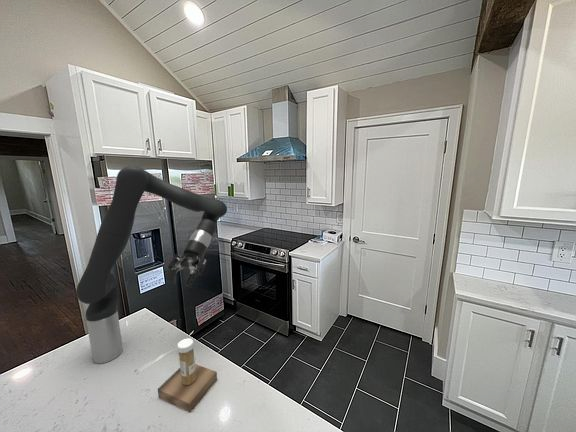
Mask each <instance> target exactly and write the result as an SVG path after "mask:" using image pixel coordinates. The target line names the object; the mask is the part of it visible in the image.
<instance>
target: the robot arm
mask: <svg viewBox="0 0 576 432" xmlns="http://www.w3.org/2000/svg"><path fill="white" fill-rule="evenodd" d="M144 193H148V194H153V195H155V196H158V197H160V198H163V199H164V200H166V201H169V202H170V203H173V204H175V205H177V206H179V207H181V208H184V209H186V210H189V211H193V212H197V213H199V212H203V214H202V217H201V219H200V222H199V223H198V225H197V227H196V228H195V230H194V231H193V233H192V235H191V236H190V238H189V240H188V241H187V243H186V245H185V247H184V249H183V253H182V255H179V254H178V253H175V255H174V256H173V257H172V260H171V261H170V263H169V264H168V265H167V269H169V270H170V271H169V273H168V276H166V282H168V283H172V282H173V281H174V278H175V277H176V276H177V273H178V272H179V271H181V270H184V269H188V270H189V274H188V276H187V277H186V280H185V282H184V286H186V287H190V286H191V285H192V284H193V282H194V280H195V277H198V276H199V277H201V276H202V275H203V272H204V270H205V267H206V266H207V263H208V261H207V259H205V258H204V256H205V254H206V252H207V250H208V248H209V246H210V244H211V241H212V239H213V237H214V235H215V232H216V230H217V226H218V225H217V223H218V221H219V219H221V218H222V217H224V216H225V215H226V213H227V212H228V207H227V205H226V203H225V202H223V201H222V200H220V199H217V198H212V197H208V196H203V195H200V194H198V193H197V192H196V193H195V192H194V191H190V190H188V189H185V188H182V187H179V186H178V185H175V184H172V183H169V182H167V181H165V180H163V179H160V177H157V176H156V175H154V174H152V173H150V172H149V171H147V170H145V169H144V168H143V167H141V166H137V165H127V166H124V167H122V168H121V169H120V170H119V171H118V173H117V175H116V179H115V186H114V191H113V196H112V199H111V203H110V204H109V207H108V208H107V210H106V212H105V214H104V216H103V218H102V221H101V224H100V226H99V228H98V232H97V235H96V238H95V242H94V245H93V248H92V250H91V254H90V257H89V260H88V263H87V265H86V267H85V270H84V272H83V274H82V276H81V277H80V279H79V282H78V284H77V286H76V291H75V292H76V297H77V299H78V300H79V301H80V302H81V303H83V304H86V305H88V307H87V308H86V310H85V320H86V326H87V332H88V339H89V344H90V349H91V350H90V351H91V356H92V361H93V363H95V364H100V365H101V364H105V363H108V362H111V361H113V360H115V359H116V358H118V357H119V356H120V355H121V354H122V352H123V351H124V347H123V341H122V340H123V339H122V334H121V325H120V319H119V313H118V305H119V290H118V283H117V282H118V281H117V279H116V276H115V275H114V274H113V273H112V272H111V271H112V269H113V267H114V266H115V264H116V262H118V259H120V256H121V255H122V253H123V252H124V250H125V248H126V246H127V245H128V242H129V240H130V236H131V234H132V232H133V227H134V222H135V218H136V217H135V216H136V212H137V207H138V205H139V203H140V201H141V199H142V198H143V195H144Z"/></svg>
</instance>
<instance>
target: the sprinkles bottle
mask: <svg viewBox="0 0 576 432" xmlns="http://www.w3.org/2000/svg"><path fill="white" fill-rule="evenodd" d="M177 351H178V357H179V359H178V360H179V368H180V371H181V378H182V380H181V382H182V384H183V385H189V384H191V383H193V382H194V381H195V379H196V373H195V364H196V362H195V361H196V360H195V354H194V353H195V352H194V340H193V339H192V338H184V339H182V340H180V341H179V342H178V343H177Z"/></svg>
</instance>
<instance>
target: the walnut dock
mask: <svg viewBox="0 0 576 432" xmlns="http://www.w3.org/2000/svg"><path fill="white" fill-rule="evenodd" d="M195 373H196V379H195V381H194V382H193V383H191V384H189V385H183V384H182V382H181V380H182V378H181V371H180V367H178V368H177V370H176V371H174V373H172V375H171V376H169V377H168V378H167V380H165V381H164V382H163V383H162V384H161V385H160V386H159V387H158V388H157V394H158V399H161V400H162V401H165V402H166V403H169V404H171V405H173V406H176V407H178V408H180V409H182V410H184V411H186V412H188V413H192V411H193V410H194V409H195V408H196V406H197V405H198V404H199V403H200V401H201V400H202V399H203V398H204V396H205V395H206V394H207V393H208V392H209V390H210V389H211V388H212V386H213V385H214V384H215V383H216V381H218V375H217V374H218V373H217V371H215V370H213V369H210V368H207V367H204V366H202V365H199V364H196V363H195Z"/></svg>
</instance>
